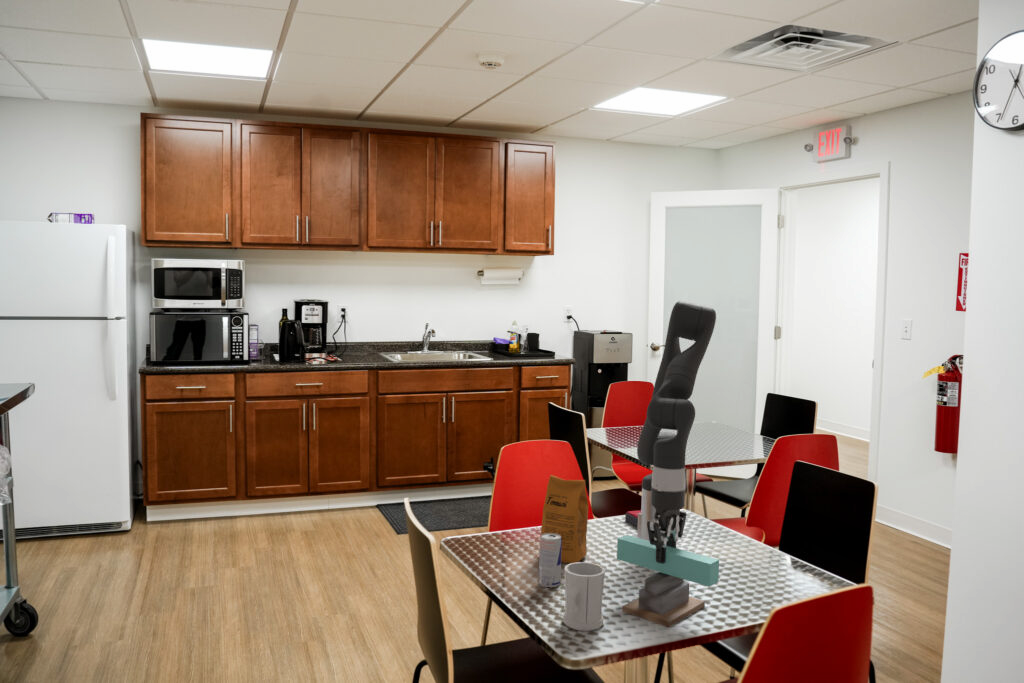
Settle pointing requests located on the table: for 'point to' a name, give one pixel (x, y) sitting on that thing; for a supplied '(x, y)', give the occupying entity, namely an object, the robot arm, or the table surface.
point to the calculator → (632, 517)
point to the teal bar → (669, 561)
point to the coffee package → (567, 516)
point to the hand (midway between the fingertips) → (665, 559)
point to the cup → (583, 596)
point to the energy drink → (550, 560)
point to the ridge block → (664, 600)
